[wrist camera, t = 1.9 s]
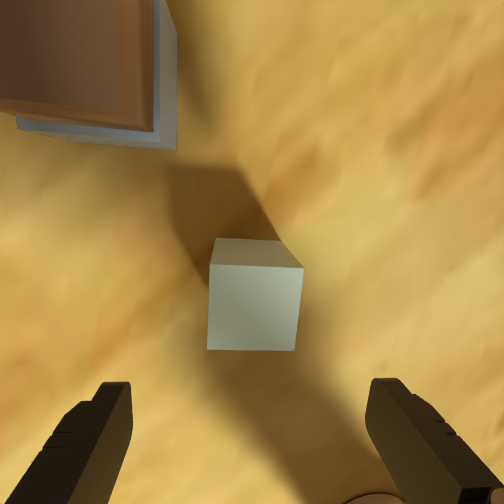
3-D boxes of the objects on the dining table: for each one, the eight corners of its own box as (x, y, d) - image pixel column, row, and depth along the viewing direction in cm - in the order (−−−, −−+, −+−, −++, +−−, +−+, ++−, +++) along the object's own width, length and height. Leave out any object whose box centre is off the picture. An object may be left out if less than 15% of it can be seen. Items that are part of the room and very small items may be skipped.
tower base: (178, 35, 18) (159, -17, 13) (176, 150, 20) (159, 142, 15) (61, 20, 17) (-3, -41, 13) (70, 141, 19) (17, 129, 14)
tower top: (153, -4, 13) (111, -107, 9) (153, 132, 15) (117, 110, 10) (16, -24, 13) (-112, -147, 8) (30, 120, 14) (-71, 90, 9)
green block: (281, 240, 22) (304, 268, 15) (275, 300, 23) (294, 350, 16) (215, 237, 21) (209, 264, 15) (213, 298, 23) (207, 349, 16)
